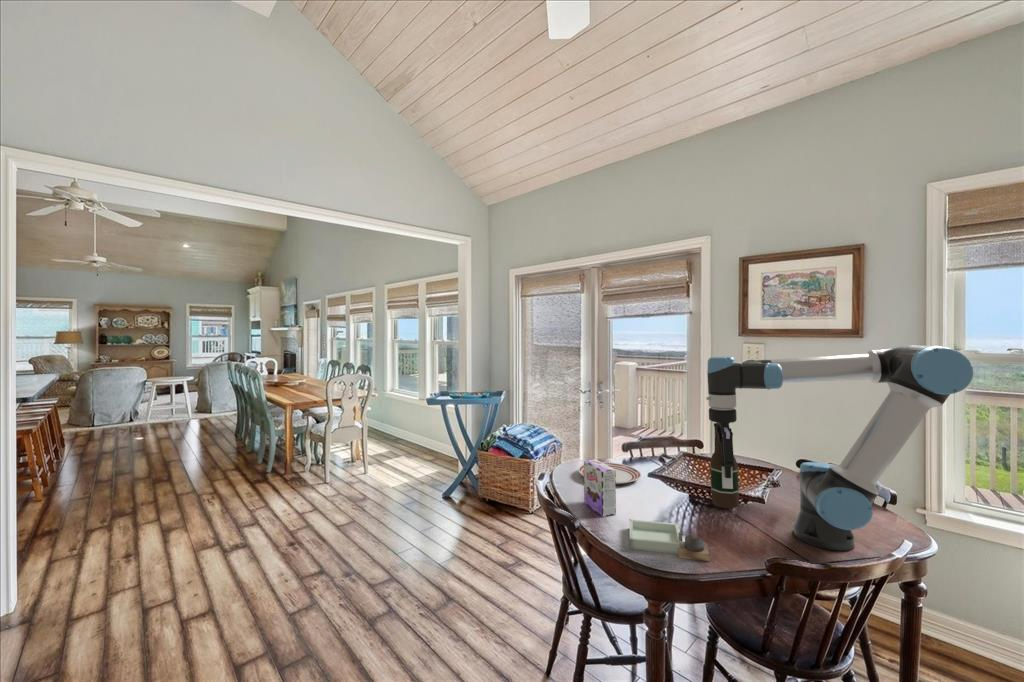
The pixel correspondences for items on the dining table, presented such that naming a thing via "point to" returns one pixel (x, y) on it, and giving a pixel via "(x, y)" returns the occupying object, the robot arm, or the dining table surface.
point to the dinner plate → (620, 472)
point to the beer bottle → (719, 494)
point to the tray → (654, 536)
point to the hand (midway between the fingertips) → (724, 483)
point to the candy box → (600, 487)
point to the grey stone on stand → (693, 548)
